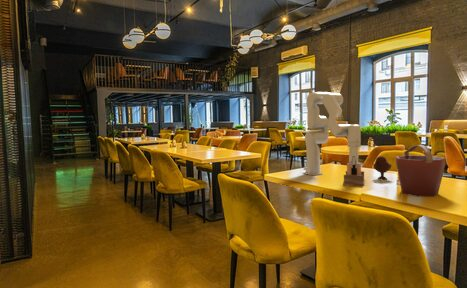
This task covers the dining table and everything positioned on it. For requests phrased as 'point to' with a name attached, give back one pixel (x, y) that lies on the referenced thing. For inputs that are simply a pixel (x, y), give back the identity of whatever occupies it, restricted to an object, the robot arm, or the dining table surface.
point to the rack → (354, 179)
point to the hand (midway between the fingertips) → (354, 173)
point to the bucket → (420, 172)
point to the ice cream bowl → (382, 166)
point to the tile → (349, 166)
